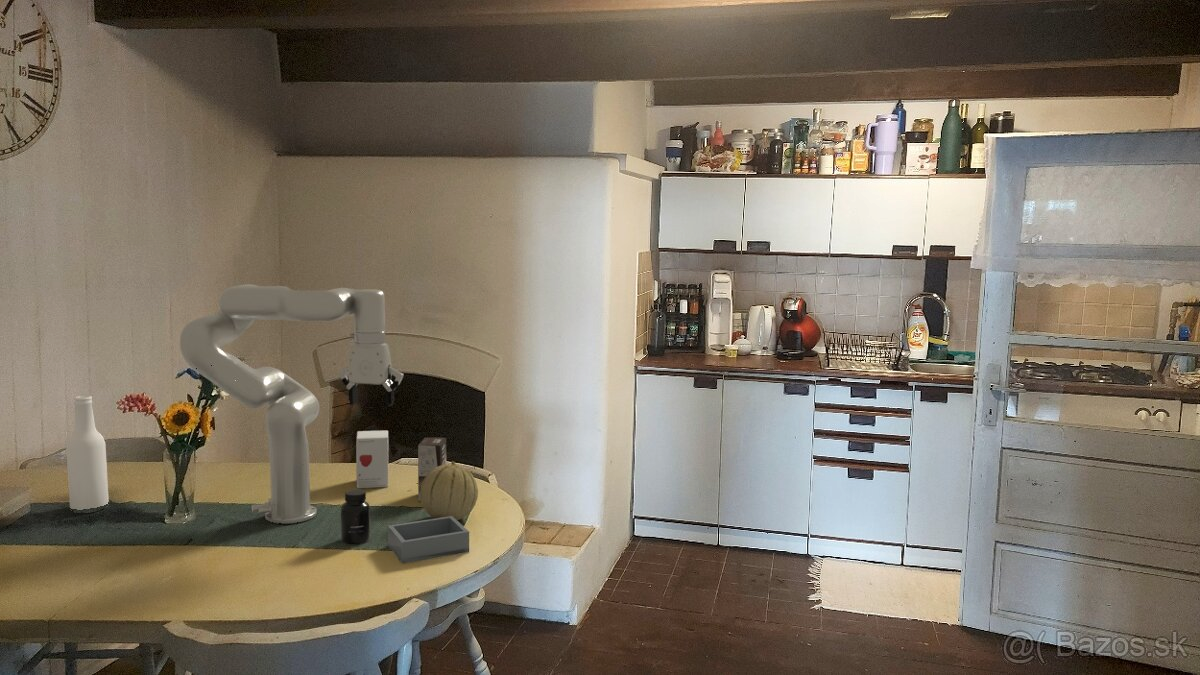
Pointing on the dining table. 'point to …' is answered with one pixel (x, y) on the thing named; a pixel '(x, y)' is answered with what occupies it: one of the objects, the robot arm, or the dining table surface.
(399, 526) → the tote
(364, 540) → the supplement bottle
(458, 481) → the cantaloupe
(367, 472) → the supplement box
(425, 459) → the coffee box
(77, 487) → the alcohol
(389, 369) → the robot arm
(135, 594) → the dining table surface
